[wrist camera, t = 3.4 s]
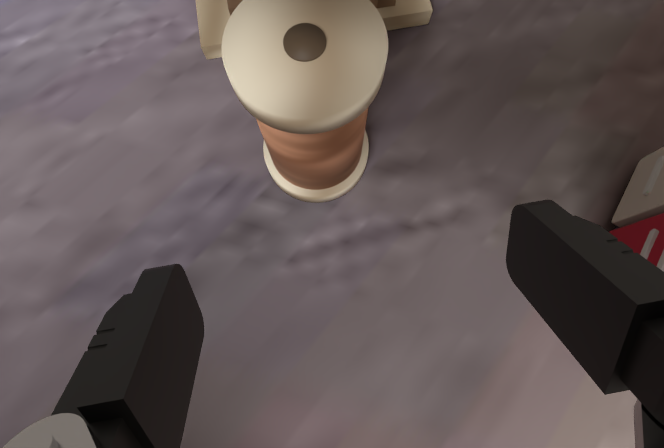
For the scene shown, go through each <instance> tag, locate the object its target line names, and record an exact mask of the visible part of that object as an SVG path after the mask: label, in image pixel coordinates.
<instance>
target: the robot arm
mask: <svg viewBox="0 0 664 448" xmlns="http://www.w3.org/2000/svg"><path fill="white" fill-rule="evenodd" d="M506 264H507V269H508V273H509V275H510V277H511V279H512V281H513V282H514V284H515V285H516V286H517V287H518V289H519V290H520V291H521V292H522V294H523V295H524V296H525V297H526V298H527V300H528V301H529V302H530V303H531V305H532V306H533V307H534V308H535V309H536V311H537V312H538V313H539V314H540V316H541V317H542V318H543V319H544V321H545V322H546V323H547V324H548V325H549V327H550V328H551V329H552V330H553V332H554V333H555V334H556V335H557V336H558V338H559V339H560V340H561V341H562V343H563V344H564V345H565V346H566V348H567V349H568V350H569V351H570V352H571V354H572V355H573V356H574V357H575V359H576V360H577V361H578V362H579V363H580V365H581V366H582V367H583V368H584V370H585V371H586V372H587V373H588V375H589V376H590V377H591V378H592V379H593V381H594V382H595V383H596V384H597V386H598V387H599V388H600V389H601V390H602V392H603V393H604V394H605V395H606V394H611V393H616V392H621V391H626V390H630V391H631V392H632V393H633V394H634V395H635V396H636V397H637V398H638V399H637V401H636V404H635V406H634V429H635V448H664V272H663V271H662V270H661V269H659V268H658V267H656V266H655V265H654V264H652V263H651V262H650V261H648V260H647V259H645V258H644V257H643V256H641V255H640V254H638V253H634V252H633V249H631V248H630V247H629V246H627V245H626V244H625V243H623V242H622V241H620V242H619V241H618V238H616V237H615V236H613V235H612V234H611V233H609V232H608V231H607V230H605V229H604V228H602V227H601V226H600V225H597V224H595V223H592V222H590V221H587V220H585V219H582V218H580V217H577V216H572V215H571V214H570V213H568V212H567V211H566V210H564V209H563V208H562V207H560V206H559V205H558V204H556V203H555V202H554V201H552V200H543V201H537V202H531V203H525V204H520V205H516V206H515V207H514V208H513V210H512V214H511V222H510V230H509V238H508V246H507V254H506ZM96 332H97V335H94V336H93V338H92V340H91V342H90V344H89V346H88V351H86V352H85V353H84V355H83V357H82V359H81V361H80V362H79V364H78V366H77V368H76V370H75V372H74V374H73V376H72V377H71V379H70V381H69V383H68V385H67V387H66V389H65V390H64V392H63V394H62V396H61V398H60V400H59V402H58V403H57V405H56V407H55V409H54V411H53V413H52V415H51V416H49V417H46V418H44V419H42V420H39V421H37V422H35V423H34V424H32V425H30V426H28V427H27V428H25V429H24V430H23V431H21V432H20V433H18V434H17V435H16V436H15V437H14V438H12V439H11V440H10V441H9V442H8V443H7V444H6V445H5V446H4V447H3V448H180V445H181V440H182V435H183V431H184V426H185V421H186V417H187V412H188V408H189V403H190V398H191V394H192V389H193V384H194V380H195V375H196V370H197V366H198V361H199V356H200V352H201V347H202V342H203V337H204V322H203V317H202V313H201V310H200V308H199V305H198V303H197V300H196V298H195V296H194V293H193V291H192V288H191V286H190V283H189V281H188V278H187V276H186V274H185V271H184V269H183V268H182V266H181V265H180V264H173V265H167V266H162V267H156V268H150V269H145V270H144V271H143V272H142V274H141V276H140V278H139V280H138V282H137V284H136V286H135V288H134V290H133V292H132V294H127V295H123V296H122V297H121V298H120V299H119V300H118V301H117V302H116V303H115V304H114V305H113V306H112V307H111V308H110V309H109V310H108V311H107V312H106V314H105V316H104V318H103V320H102V321H101V323H100V325H99V327H98V329H97V331H96Z"/></svg>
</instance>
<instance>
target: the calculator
mask: <svg viewBox="0 0 664 448" xmlns="http://www.w3.org/2000/svg"><path fill="white" fill-rule="evenodd" d="M612 223H613V224H615V225H616V227H615V229H614V230H612V231H609V233H611V234H612V235H613V236H615V237H616V238H618V241H619V242H620V241H622V242H623V243H625V244H626V245H627V246H629V247H630V248H631V249H633V252H634V253H638V254H640V255H641V256H643V257H644V258H645V259H647V260H648V261H650V262H651V263H652V264H654V265H655V266H656V267H658V268H659V269H661V270H662V271H663V272H664V147H662V148H660V149H658V150H656V151H655V152H653V153H651V154H649V155H647V156H645V157H644V158H642V159H641V160H640V161H639V163H638V164H637V167H636V169H635V171H634V173H633V175H632V177H631V179H630V182H629V184H628V186H627V188H626V190H625V192H624V195H623V197H622V199H621V201H620V203H619V205H618V207H617V210H616V212H615V214H614V216H613V218H612Z"/></svg>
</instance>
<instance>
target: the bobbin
mask: <svg viewBox="0 0 664 448" xmlns="http://www.w3.org/2000/svg"><path fill="white" fill-rule="evenodd" d="M387 55H388V36H387V30H386V27H385V24H384V21H383V19H382V17H381V15H380V13H379V12H378V10H377V9H376V7H375V6H374V5H373V4H372V3H371V1H370V0H243V1H242V2H241V3H240V4H239V5H238V6H237V7H236V9H235V10H234V11H233V13H232V15H231V16H230V18H229V20H228V22H227V24H226V27H225V30H224V34H223V37H222V59H223V64H224V67H225V70H226V72H227V75H228V77H229V80H230V82H231V84H232V87H233V89H234V91H235V93H236V95H237V97H238V99H239V101H240V102H241V103H242V105H243V106H244V107H245V109H246V110H247V111H248V112H249V113H250V114H251V115H252V116H254V117H255V118H256V120H257V122H258V125H259V128H260V130H261V133H262V135H263V138H264V146H263V151H264V158H265V162H266V165H267V167H268V170H269V172H270V174H271V176H272V178H273V180H274V181H275V183H276V184H277V185H278V186H279V187H280V188H281V190H283V191H284V192H285V193H286V194H288V195H290V196H291V197H293V198H296V199H298V200H301V201H305V202H311V203H321V202H328V201H332V200H335V199H337V198H339V197H341V196H343V195H345V194H346V193H348V192H349V191H350V190H351V189H353V188H354V187H355V185H356V184H357V183H358V182H359V180H360V179H361V177H362V175H363V173H364V171H365V167H366V163H367V158H368V151H369V143H368V137H367V134H366V131H365V126H366V120H367V113H368V107H369V105H370V104H371V103H372V102H373V100H374V99H375V97H376V95H377V93H378V91H379V89H380V87H381V84H382V80H383V76H384V71H385V66H386V61H387Z"/></svg>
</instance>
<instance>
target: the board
mask: <svg viewBox="0 0 664 448" xmlns="http://www.w3.org/2000/svg"><path fill="white" fill-rule="evenodd" d="M242 1H243V0H196V8H197V17H198V26H199V34H200V43H201V48H202V50H203V52H204V54H205V56H206V58H207V59H213V58H219V57H222V37H223V34H224V30H225V27H226V24H227V22H228V20H229V18H230V16H231V15H232V13H233V11H234V10H235V9H236V7H237V6H238V5H239V4H240V3H241V2H242ZM370 1H371V3H372V4H373V5H374V6H375V7H376V9H377V10H378V12H379V13H380V15H381V17H382V19H383V21H384V24H385V27H386V30H387V31H388V30H394V29H400V28H407V27H413V26H419V25H425V24H429V20H430V17H431V14H432V11H433V10H432V6H431V3H430V0H370Z"/></svg>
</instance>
